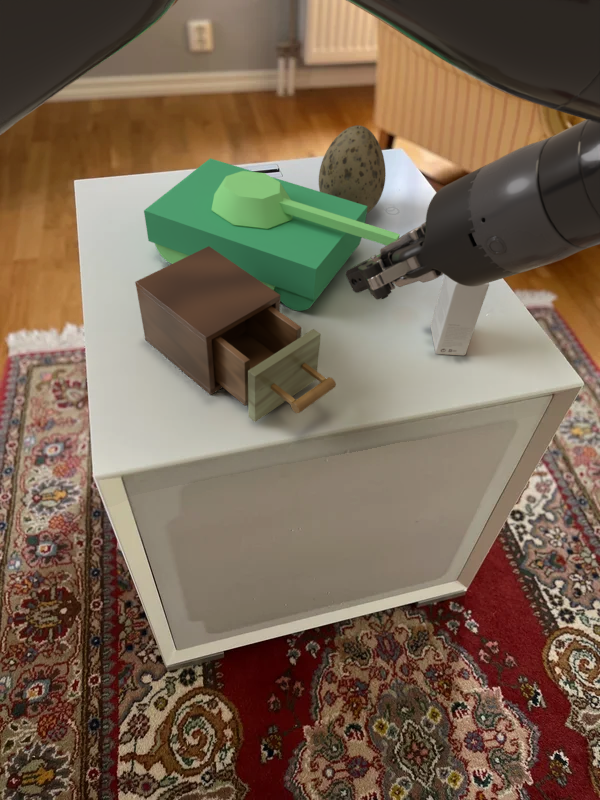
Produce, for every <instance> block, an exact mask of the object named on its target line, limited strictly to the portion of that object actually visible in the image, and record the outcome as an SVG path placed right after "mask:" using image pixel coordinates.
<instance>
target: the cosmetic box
mask: <svg viewBox="0 0 600 800" xmlns="http://www.w3.org/2000/svg"><path fill="white" fill-rule="evenodd" d="M489 287H490V282H489V283H486V284H483V285H479V286H465V285H461V284H459V283H457V282H455V281H453V280H452V279H450V278H449V277H448V276H446V275H445V274H443V279H442V283H441V286H440V290H439V294H438V298H437V300H436V304H435V308H434V311H433V315H432V318H431V322H430V331H431V336H432V337H431V338H432V341H433V342H432V343H433V347H434V353H435V354H436V355H448V356H450V355H451V356H452V355H453V356H465V355H466V354H467V352H468V348H469V345H470V343H471V340H472V337H473V334H474V331H475V328H476V325H477V322H478V319H479V316H480V314H481V311H482V307H483V304H484V301H485V299H486V296H487V292H488V290H489Z"/></svg>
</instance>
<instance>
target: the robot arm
mask: <svg viewBox="0 0 600 800" xmlns="http://www.w3.org/2000/svg"><path fill="white" fill-rule="evenodd" d="M178 1H179V0H0V136H1V135H3V134H4V133H5V132H6V131H8V130H9V129H11V128H12V127H13V126H14V125H15V124H17V123H18V122H19V121H21V120H22V119H24V118H25V117H26V116H28V115H29V114H31V113H33V112H34V111H35V110H36V109H37V108H39V107H41V106H42V105H43V104H45V103H46V102H47V101H49V100H50V99H52V98H53V97H55V96H56V95H58V94H59V93H61V92H62V91H63V90H64V89H66V88H68V87H69V86H70V85H72V84H73V83H75V82H76V81H77V80H79V79H81V78H82V77H84V76H85V75H86V74H88V73H90V72H91V71H92V70H94V69H95V68H97V67H99V66H100V65H101V64H102V63H104V62H105V61H107V60H108V59H109V58H111V57H112V56H114V55H115V54H116V53H118V52H119V51H121V50H122V49H124V48H126V47H127V45H129V44H131V43H132V42H134V41H135V40H137V39H138V38H139V37H140V36H142V35H143V34H144V33H146V32H147V31H148V30H149V29H151V28H152V27H153V26H155V25H156V24H157V23H158V22H159V21H160V20H161V19H162V18H164V16H165V15H166V14H167V13H168V12H169V11H170V9H171V8H173V7H174V5H175V4H176V3H177V2H178ZM345 1H346V2H348V3H350V4H352V5H354V6H356V7H357V8H359V9H360V10H362V11H364V12H365V13H368V14H369V15H371V16H372V17H374V18H376V19H378V20H379V21H381V22H382V23H384V24H385V25H387V26H389V27H390V28H392V29H393V30H394V31H397V32H398V33H399V34H401V35H403V36H404V37H406V38H407V39H408V40H411V42H414V43H415V44H417V45H418V46H420V47H421V48H423V49H425V50H426V51H428V52H429V53H431V54H432V55H434V56H436V57H438V58H439V59H441V60H442V61H444V62H446V63H447V64H449V65H450V66H452V67H453V68H455V69H457V70H459V71H460V72H462V73H464V74H465V75H468V76H469V77H471V78H473V79H474V80H477V81H479V82H481V83H483V84H484V85H487V86H488V87H491V88H493V89H495V90H498V91H500V92H502V93H504V94H507V95H509V96H512V97H514V98H517V99H520V100H522V101H526V102H528V103H531V104H535V105H538V106H541V107H544V108H548V109H551V110H554V111H557V112H561V113H565V114H568V115H570V116H573V117H577V118H580V119H583V120H582V121H580V122H578V123H576V124H573V125H572V126H570V127H568V128H565V129H564V130H562V131H560V132H558V133H556V134H554V135H552V136H550V137H547V138H545V139H542V140H539V141H536V142H532V143H529V144H526V145H524V146H522V147H519V148H518V149H517V148H516V149H515V150H513V151H511V152H509V153H507V154H505V155H503V156H501V157H499V158H497V159H494V160H493V161H491V162H489V163H487V164H485V165H484V166H482V167H481V166H480V167H478V168H477V169H475V170H474V171H472V172H469V173H467V174H466V175H463V176H461V177H459V178H458V179H456V180H454V181H452V182H450V183H448V184H446V185H444V186H442V187H440V188H439V189H438V190H437V192H435V194H434V195H433V197H432V198H431V200H430V202H429V205H428V207H427V211H426V216H425V222H423V223H422V224H421V225H420V226H418V227H415V228H413V229H411V230H410V231H408V232H406V233H405V234H403V235H401V236H399V239H398V240H396V241H394V242H392V243H390V244H388V245H384V246H383V247H382V248H381V249H379V250H380V251H379V252H380V253H379V254H374V255H371V256H370V258H367V259H365V260H364V261H361V262H359V263H357V264H356V265H354V266H352V267H350V268H349V269H347V270H346V271H345V277H346V279H347V281H348V283H349V285H350V287H351V289H352V291H353V292H354V293H357V294H358V293H362V292H364V291H367V290H368V292H369V294H370V295H371V296H372V297H373V298H374V299H376V300H380V299H381V300H384V299H387V297H389V295H390V294H392V291H393V290H395V289H396V287H398V288H402V287H404V286H408V285H411V284H414V283H417V282H420V283H428V282H430V281H433V280H436V279H438V278H439V277H441V276H444V275H446V276H448V277H449V278H450V279H452V280H453V281H455V282H457V283H459V284H461V285H465V286H479V285H483V284H486V283H489V284H490V283H494V282H495V281H498V280H502V279H505V278H508V277H509V278H510V277H512V276H515V275H518V274H522V273H525V272H528V271H531V270H534V269H538V268H542V267H545V266H547V265H551V264H554V263H557V262H560V261H562V260H564V259H566V258H568V257H570V256H573V255H574V254H577V253H579V252H581V251H584V250H586V249H589V248H592V247H595V246H599V245H600V0H345ZM395 286H396V287H395Z"/></svg>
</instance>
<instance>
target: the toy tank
mask: <svg viewBox="0 0 600 800" xmlns="http://www.w3.org/2000/svg"><path fill="white" fill-rule="evenodd" d="M367 207H368V206H365V205H362V204H359V203H355V202H352V201H349V200H346V199H342V198H339V197H336V196H332V195H329V194H326V193H323V192H320V190H317V189H313V188H309V187H305V186H303V185H299V184H297V183H296V184H295V183H293V182H289V181H286V180H283V179H279V178H276V177H273V176H271V175H269V174H267V173H265V172H257V171H254V170H250V169H246V168H243V167H240V166H237V165H234V164H231V163H228V162H223V161H221V160H217V159H215V158H208V159H207V160H206V161H205V162H203V163H202V164H201V165H199V166H198V167H197V168H196V169H194V170H193V171H192V172H190V174H188V175H187V176H186V177H184V178H183V179H182V180H181V181H179V182H178V183H177V184H175V185H174V186H173V187H171V188H170V189H169V190H168V191H167V192H165V193H164V194H163V195H161V197H159V198H157V199H156V200H155V201H154V202H153V203H152V204H150V205H148V207H146V208H145V209H144V210H143V213H144V221H145V227H146V234H147V240H148V242H150V243H153V244H154V246H155V248H156V250H157V252H158V253H159V254H160V256H161V258H163V259H164V260H165V261H166V262H167V263H169V264H170V265H171V264H173V263H175V262H177V261H179V260H181V259H183V258H185V257H187V256H190V255H192V254H194V253H196V252H198V251H200V250H202V249H204V248H206V247H208V246H210V247H211V248H212V249H214V250H215V251H217V252H218V253H220V254H221V255H223V256H224V257H226V258H227V259H228V260H230V261H231V262H233V263H234V264H236V265H237V266H239V267H240V268H242V269H243V270H244V271H246V272H247V273H249V274H250V275H252V276H253V277H255V278H256V279H258V280H259V281H260V282H262V283H263V284H265V285H266V286H268V287H269V288H271V289H272V290H274V291H275V292H276V293H278V294H279V295H280V303H281V304H283V305H284V306H285V307H287V308H289V309H291V310H292V311H297V312H302V311H307V310H308V309H310V308H311V307H312V306H313V304H314V303H315V302H316V301H317V300H318V298H319V297H320V295H321V294H322V293H323V292H324V291H325V289H326V287H327V286H328V285H329V284H330V283H331V281H333V279H334V278H335V276H336V275H337V274H338V272H339V271H340V270H341V269H342V267H343V266H344V265H345V264H346V262H347V261H348V260H349V258H350V257H351V256H352V255H353V253H354V252H355V251H356V250H357V249H358V247H359V246H360V244H361V241H362V239H365V240H368V241H371V242H374V243H377V244H381V245H384V246H387V245H388V244H390V243H392V242H394V241H396V240H398V239H399V238H400V237H401V236H400V235H401V234H400V233H397V232H394V231H391V230H387V229H384V228H381V227H378V226H375V225H372V224H368V223H366V220H367V214H368V213H367Z"/></svg>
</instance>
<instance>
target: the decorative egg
mask: <svg viewBox="0 0 600 800" xmlns="http://www.w3.org/2000/svg"><path fill="white" fill-rule="evenodd" d="M386 177H387V176H386V162H385V158H384V154H383V150H382V147H381V145H380V143H379V140H378V139H377V137H376V136H375V134H374V133H373V132H372V131H371V130H370V129H369V128H367V127H366V126H363V125H358V124H357V125H352V126H349V127H347V128H346V129H344V130H342V131H341V132H340V133H339V134H338V135H337V136H336V137H335V138H334V139H333V140H332V142H331V143H330V145H329V146H328V148H327V149H326V152H325V154H324V156H323V158H322V161H321V164H320V167H319V172H318V189H319V190H318V191H319V192H323V193H326V194H329V195H332V196H336V197H339V198H342V199H346V200H349V201H352V202H355V203H359V204H362V205H365V206H368V207H367V214H368V213H370V212H371V211H372V210H373V209H374V208H375V207H376V205H377V204H378V202H379V201H380V199H381V197H382V195H383V192H384V190H385V189H384V188H385V185H386Z"/></svg>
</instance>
